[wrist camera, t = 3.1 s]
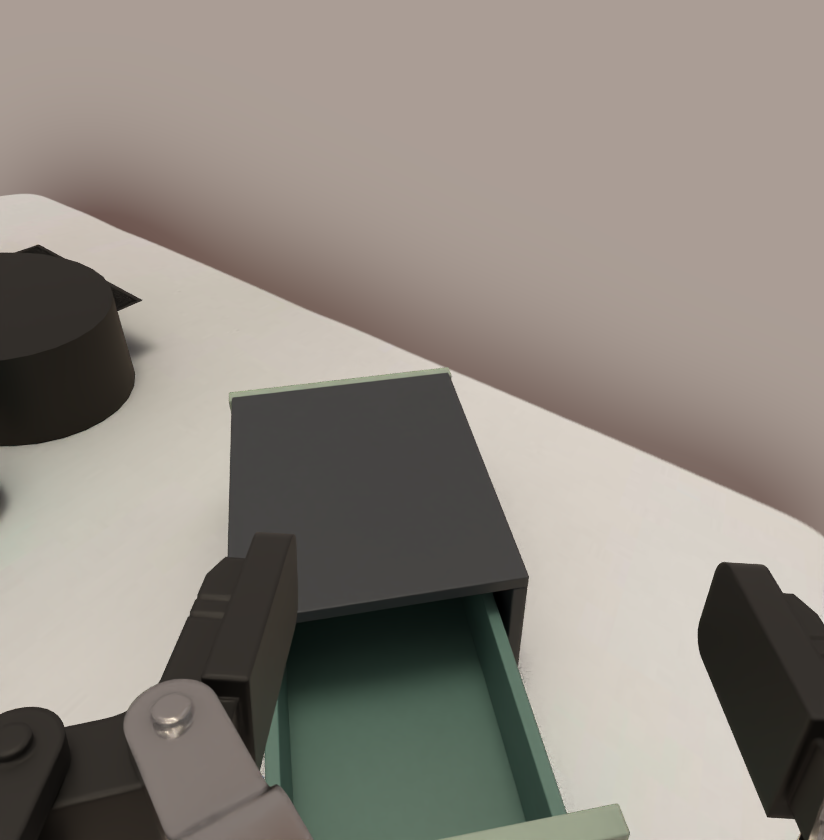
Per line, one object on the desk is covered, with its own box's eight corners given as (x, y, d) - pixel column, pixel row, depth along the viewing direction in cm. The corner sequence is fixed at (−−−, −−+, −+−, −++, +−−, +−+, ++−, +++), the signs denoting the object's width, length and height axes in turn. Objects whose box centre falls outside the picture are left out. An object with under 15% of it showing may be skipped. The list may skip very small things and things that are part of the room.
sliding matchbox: (248, 486, 42) (221, 358, 36) (446, 459, 43) (448, 333, 38) (251, 1028, 22) (194, 925, 17) (609, 946, 24) (661, 827, 19)
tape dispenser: (0, 494, 43) (-41, 394, 39) (-139, 377, 51) (-187, 282, 47) (194, 386, 53) (180, 295, 48) (51, 302, 61) (27, 216, 56)
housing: (253, 500, 41) (231, 397, 37) (446, 473, 43) (448, 371, 38) (255, 731, 30) (225, 624, 26) (516, 685, 32) (529, 576, 27)
